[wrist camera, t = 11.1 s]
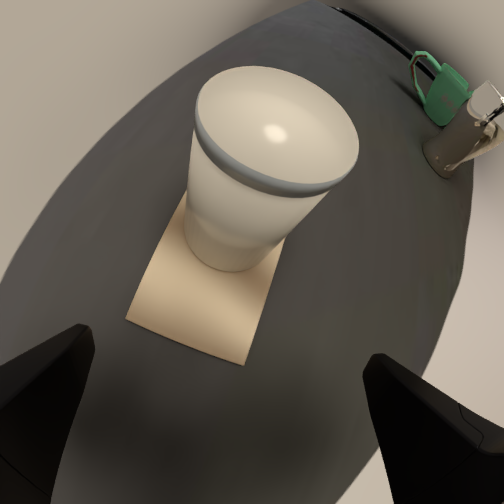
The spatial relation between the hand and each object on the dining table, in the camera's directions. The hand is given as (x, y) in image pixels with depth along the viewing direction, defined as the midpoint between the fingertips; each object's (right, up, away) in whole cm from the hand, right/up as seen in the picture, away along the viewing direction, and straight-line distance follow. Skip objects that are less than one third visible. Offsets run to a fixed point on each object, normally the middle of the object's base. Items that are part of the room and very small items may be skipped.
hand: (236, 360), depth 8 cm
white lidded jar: (-1, +5, +10) cm, 11 cm away
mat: (-2, +3, +10) cm, 11 cm away
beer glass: (+26, +16, +23) cm, 38 cm away
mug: (+31, +29, +29) cm, 51 cm away
